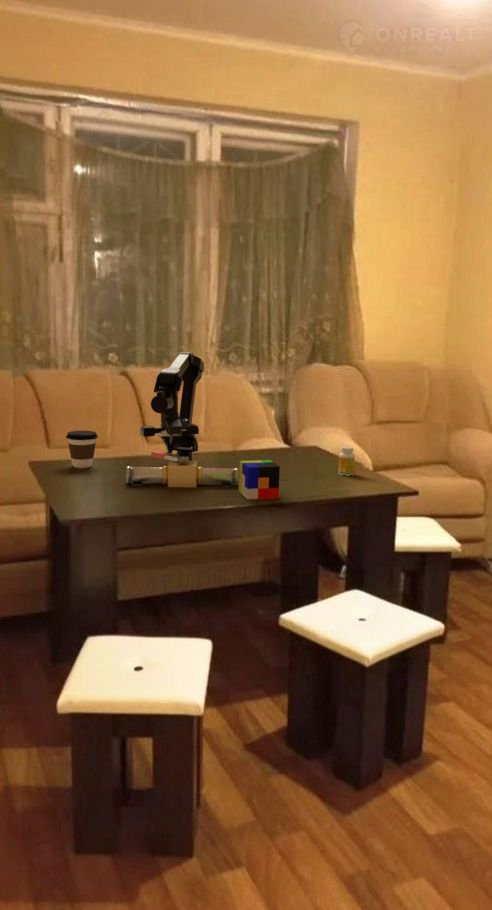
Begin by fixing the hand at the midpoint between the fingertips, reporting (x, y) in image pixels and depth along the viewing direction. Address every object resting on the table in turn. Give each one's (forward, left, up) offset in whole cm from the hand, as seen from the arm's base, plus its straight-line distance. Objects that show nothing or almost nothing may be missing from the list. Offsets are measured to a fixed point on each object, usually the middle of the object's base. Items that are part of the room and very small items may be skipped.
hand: (169, 455), depth 265 cm
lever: (+4, 0, 0) cm, 4 cm away
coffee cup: (-16, -32, -8) cm, 36 cm away
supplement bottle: (-10, +61, -8) cm, 63 cm away
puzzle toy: (+21, +28, -8) cm, 36 cm away
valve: (+9, +4, -8) cm, 12 cm away
